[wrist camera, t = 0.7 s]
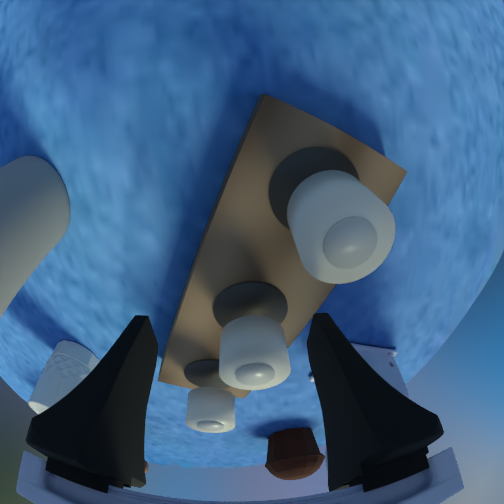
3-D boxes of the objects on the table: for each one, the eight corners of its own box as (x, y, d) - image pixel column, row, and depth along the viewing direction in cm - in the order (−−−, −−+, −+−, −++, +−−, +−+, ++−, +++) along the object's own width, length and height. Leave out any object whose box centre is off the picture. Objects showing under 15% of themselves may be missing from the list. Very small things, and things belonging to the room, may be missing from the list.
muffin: (290, 444, 50) (295, 483, 41) (250, 439, 46) (253, 482, 37) (331, 427, 45) (340, 469, 37) (292, 421, 41) (299, 471, 32)
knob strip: (386, 159, 18) (408, 172, 15) (243, 377, 31) (244, 399, 28) (260, 94, 15) (265, 94, 12) (161, 359, 29) (157, 382, 26)
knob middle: (295, 323, 18) (304, 362, 15) (267, 360, 20) (271, 395, 17) (233, 308, 17) (233, 349, 14) (212, 348, 19) (210, 386, 16)
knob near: (382, 192, 13) (414, 220, 10) (342, 258, 15) (361, 295, 12) (311, 154, 12) (334, 175, 9) (272, 233, 14) (280, 271, 11)
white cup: (47, 329, 26) (18, 393, 18) (99, 345, 27) (76, 418, 19) (62, 363, 30) (42, 420, 22) (109, 378, 32) (94, 439, 23)
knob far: (241, 391, 23) (242, 422, 20) (226, 409, 25) (226, 436, 22) (194, 383, 22) (191, 414, 19) (183, 401, 24) (181, 429, 21)
